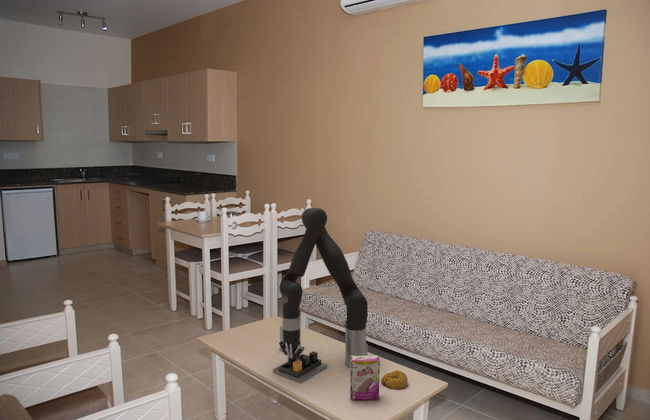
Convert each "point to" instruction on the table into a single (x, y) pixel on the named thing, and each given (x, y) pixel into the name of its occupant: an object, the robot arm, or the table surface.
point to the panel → (309, 368)
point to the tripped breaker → (297, 366)
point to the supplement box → (282, 336)
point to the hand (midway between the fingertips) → (291, 365)
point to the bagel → (395, 380)
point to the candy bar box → (364, 377)
